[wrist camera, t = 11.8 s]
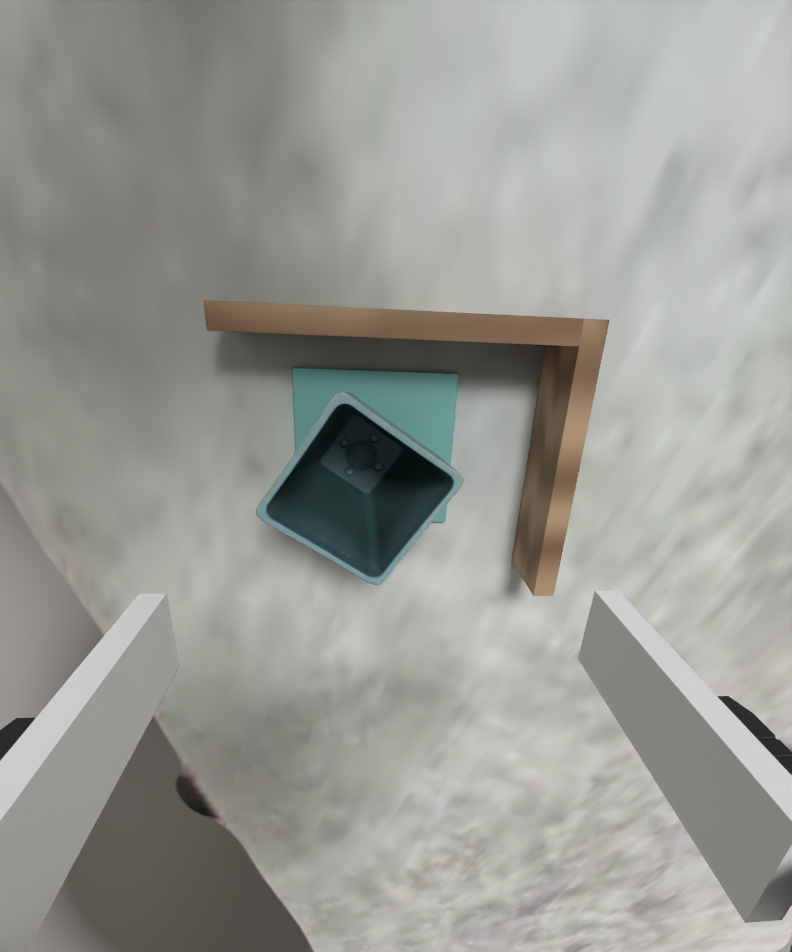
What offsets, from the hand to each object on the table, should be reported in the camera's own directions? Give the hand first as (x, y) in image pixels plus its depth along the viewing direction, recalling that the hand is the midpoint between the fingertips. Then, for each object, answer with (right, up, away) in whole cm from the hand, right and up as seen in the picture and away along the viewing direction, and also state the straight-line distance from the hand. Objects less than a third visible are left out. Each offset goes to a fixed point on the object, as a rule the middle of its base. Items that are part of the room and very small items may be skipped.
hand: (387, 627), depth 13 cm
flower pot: (-2, +7, +19) cm, 20 cm away
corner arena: (+1, +7, +19) cm, 21 cm away
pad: (-1, +7, +19) cm, 21 cm away
